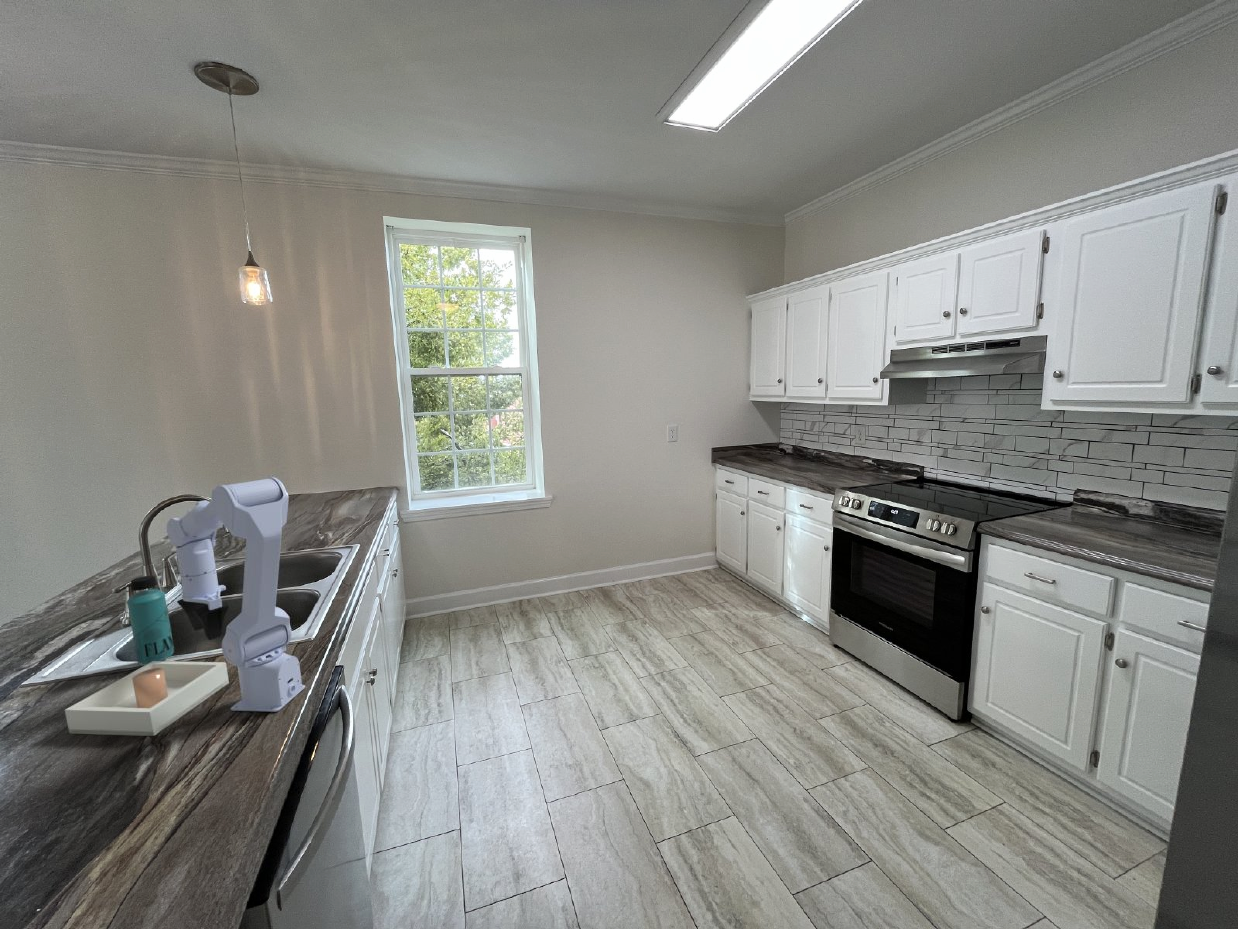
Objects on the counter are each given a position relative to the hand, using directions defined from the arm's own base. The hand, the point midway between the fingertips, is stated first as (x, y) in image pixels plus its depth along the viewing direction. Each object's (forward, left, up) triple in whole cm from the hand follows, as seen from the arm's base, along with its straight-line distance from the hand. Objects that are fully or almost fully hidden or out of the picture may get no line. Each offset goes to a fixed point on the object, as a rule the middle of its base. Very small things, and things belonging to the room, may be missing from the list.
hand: (207, 633), depth 106 cm
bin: (+2, +11, -9) cm, 15 cm away
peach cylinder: (+2, +11, -9) cm, 14 cm away
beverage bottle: (+17, -4, -10) cm, 20 cm away
